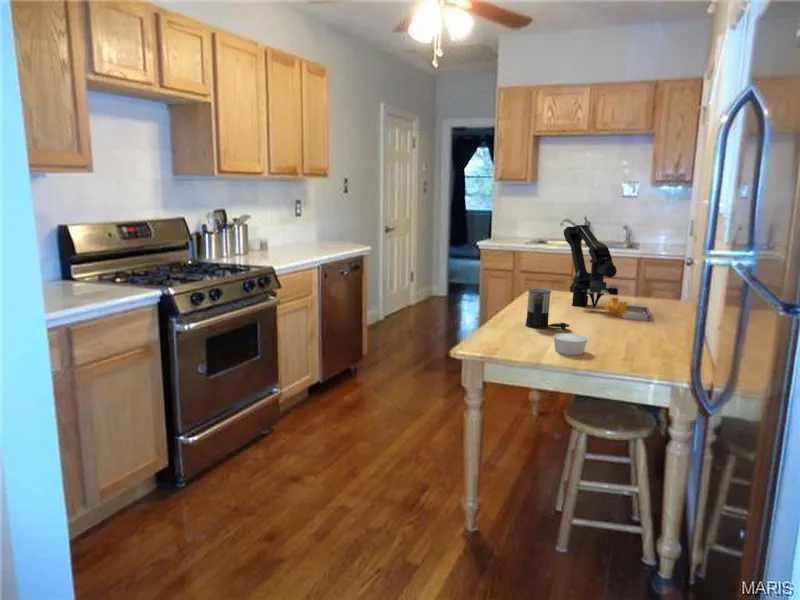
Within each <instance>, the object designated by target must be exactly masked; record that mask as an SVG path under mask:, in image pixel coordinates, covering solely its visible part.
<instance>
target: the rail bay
mask: <svg viewBox="0 0 800 600" xmlns="http://www.w3.org/2000/svg"><path fill="white" fill-rule="evenodd" d="M649 309H650V308H649V307H648V306H642V305H641V306H639V305H631V304H630V305H629V304H628V305H627V306H626V313H623V315H622V317H621V318H622V319H624V320H632V319H633V321H635V320H636V321H642V320H644V322H650V320H651V313H650V310H649ZM633 311H635V312H633ZM631 312H633V313H631ZM643 312H645V313H643ZM641 313H643V314H641Z"/></svg>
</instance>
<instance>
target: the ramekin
mask: <svg viewBox="0 0 800 600" xmlns="http://www.w3.org/2000/svg"><path fill="white" fill-rule="evenodd" d="M552 339H553V343H554V350H555V352H557V353H558V354H561V355H566V356H580V355H582V354H583V353H584V352H585V348H586V344H587V343H588V338H587V337H585V336H583V335H580V334H575V333H557V334H554V335H553V338H552Z"/></svg>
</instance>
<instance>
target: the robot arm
mask: <svg viewBox="0 0 800 600" xmlns="http://www.w3.org/2000/svg"><path fill="white" fill-rule="evenodd" d="M563 236H564V239H565V242H566V243H568V245H569V247H570V251H571V257H572V261H573V266H574V272H575V274H574V276H573V279H572V281H573V282H572V284H571V285H570V286H569V292H570V293H572V303H571V306H573V307H582V306H583V307H585V308H586V307H587V306H588V304H589V303H588V302H589V297H590V300H591V304H592V308H593V309H596V307H597V304H598V302H599V300H600V299H601V297H602V296H605V293H608V294H610V295H611V296H612V295H614V296H617V295H618V294H619V288H618V286H611V285H608V284H607V281H604V280H605V278H610V279H611V278H614V277H616V274H617V271H618V270H617V267H616V266H615V265H614V262H613V260H612V259H613V258H612V255H611V252H610V250H609V248H608V246H607V245H606V244H605V243H603V242H601V241H599V240H598V238H596V236H595V234H594V233H593V231H592V230H591V229H590V227H589V225H587V224H578V225H574V226H566V227H565V228H564V229H563ZM582 241H583V242H584V243H585V244H586V245H587V247H588V254H589V255H590V258H591V259H590V260H589V263H591V267H590V272H588V271H587V267H586V262H585V257H584V253H583V252H584V251H583V247H582ZM604 277H605V278H604ZM607 285H608V287H607ZM595 293H596V296H595Z"/></svg>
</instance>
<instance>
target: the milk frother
mask: <svg viewBox="0 0 800 600" xmlns="http://www.w3.org/2000/svg"><path fill="white" fill-rule="evenodd" d="M527 291H528V296H527V297H528V298H527V311H526V319H525V326H526V327H528V328H534V329H547V328H549V327H552V328H560V329H561V330H565V329H566V328H570V324H568V323H566V322H559V323H550V324H549V315H550V314H549V313H550V302H551V293H552V291H551V290H549V289H545V288H529V289H527Z"/></svg>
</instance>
